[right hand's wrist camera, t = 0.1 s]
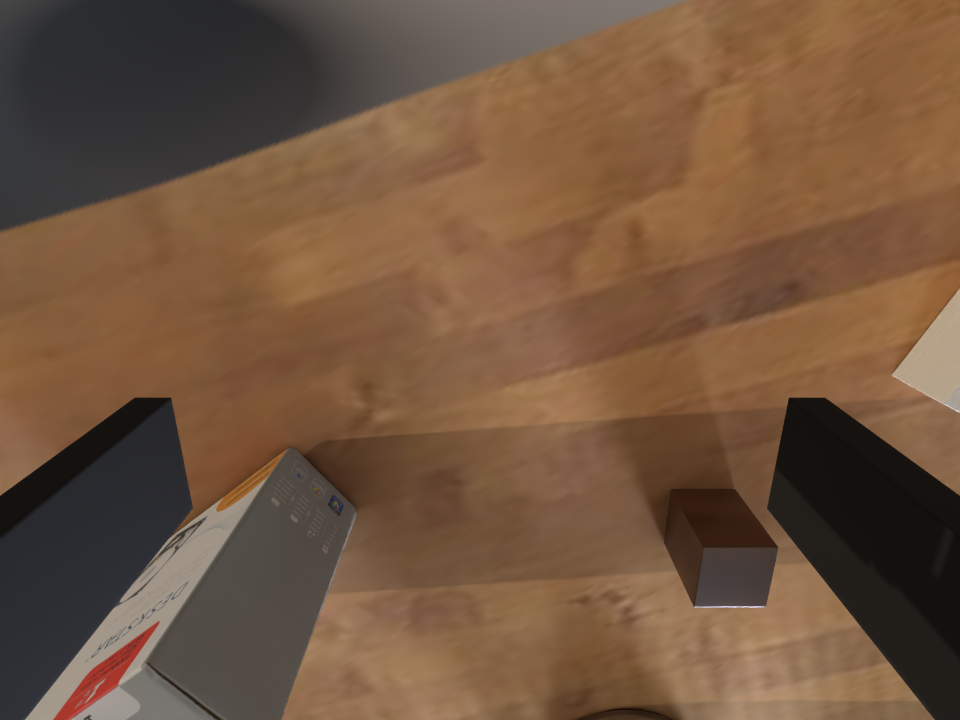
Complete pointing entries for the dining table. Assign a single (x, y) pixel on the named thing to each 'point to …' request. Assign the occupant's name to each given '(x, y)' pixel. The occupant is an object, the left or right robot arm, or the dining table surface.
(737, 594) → the walnut block
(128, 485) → the right robot arm
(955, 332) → the tray
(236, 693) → the hard drive box
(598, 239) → the dining table surface
